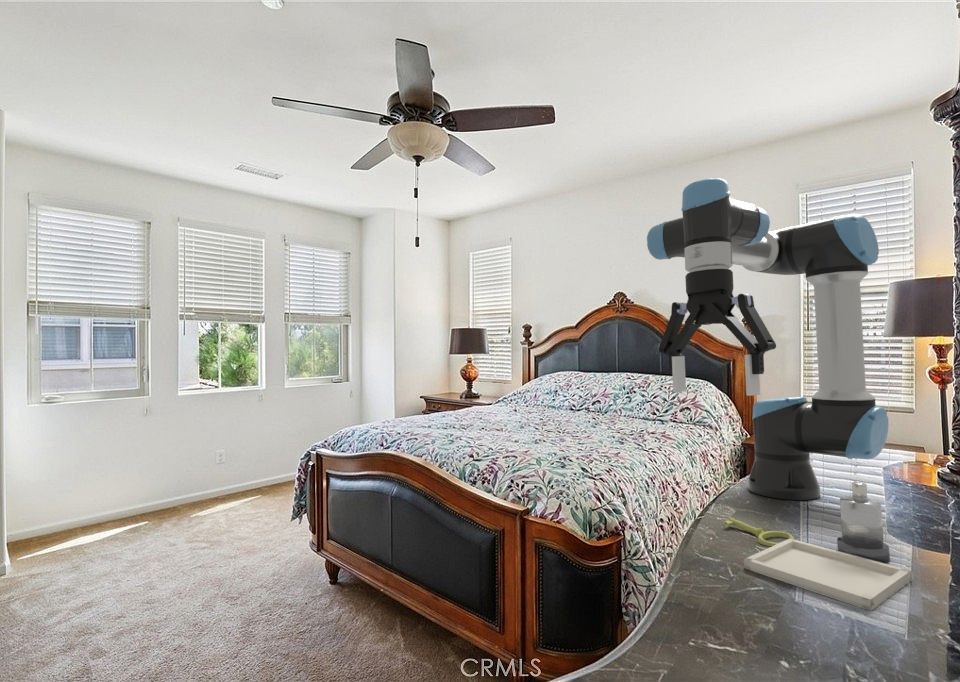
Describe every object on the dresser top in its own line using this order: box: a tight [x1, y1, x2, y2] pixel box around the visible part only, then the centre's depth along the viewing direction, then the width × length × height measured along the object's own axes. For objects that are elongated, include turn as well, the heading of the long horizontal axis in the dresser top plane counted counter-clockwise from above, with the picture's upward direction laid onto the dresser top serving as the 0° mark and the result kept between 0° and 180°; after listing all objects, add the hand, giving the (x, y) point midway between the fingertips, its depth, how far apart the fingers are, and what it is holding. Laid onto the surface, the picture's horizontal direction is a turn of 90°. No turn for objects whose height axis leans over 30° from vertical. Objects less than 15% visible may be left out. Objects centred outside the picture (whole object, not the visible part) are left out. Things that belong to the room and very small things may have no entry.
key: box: [723, 517, 796, 547], centre depth 95 cm, size 7×12×2 cm, turn 44°
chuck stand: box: [836, 481, 891, 564], centre depth 85 cm, size 7×7×12 cm
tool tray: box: [743, 538, 913, 612], centre depth 78 cm, size 15×17×2 cm
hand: (714, 393), depth 86 cm, fingers open, 13 cm apart
